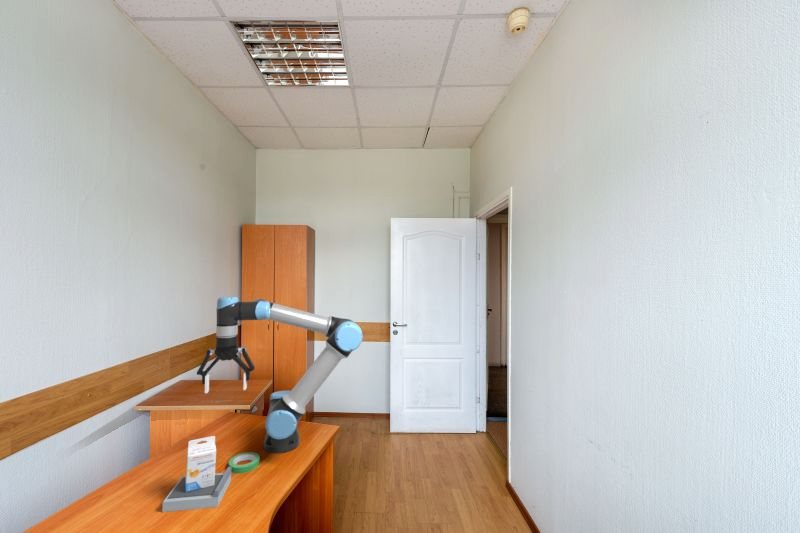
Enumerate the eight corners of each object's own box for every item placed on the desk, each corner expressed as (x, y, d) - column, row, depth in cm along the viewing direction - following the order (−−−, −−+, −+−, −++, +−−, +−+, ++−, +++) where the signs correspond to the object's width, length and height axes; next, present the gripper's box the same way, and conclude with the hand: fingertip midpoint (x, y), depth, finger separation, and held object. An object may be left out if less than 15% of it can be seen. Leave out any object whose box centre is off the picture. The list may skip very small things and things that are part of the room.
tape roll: (243, 477, 124) (244, 469, 124) (221, 470, 128) (222, 463, 128) (265, 462, 134) (265, 455, 134) (244, 456, 138) (244, 449, 138)
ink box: (185, 493, 108) (187, 447, 109) (185, 485, 112) (187, 440, 113) (214, 485, 113) (217, 440, 113) (213, 477, 117) (216, 435, 117)
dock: (230, 480, 121) (231, 466, 121) (217, 506, 107) (218, 490, 107) (182, 484, 118) (183, 470, 118) (162, 512, 104) (163, 495, 104)
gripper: (262, 333, 138) (261, 384, 137) (194, 336, 131) (193, 390, 131) (259, 336, 131) (259, 390, 130) (187, 339, 124) (186, 396, 123)
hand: (226, 390), depth 130 cm, fingers open, 13 cm apart
